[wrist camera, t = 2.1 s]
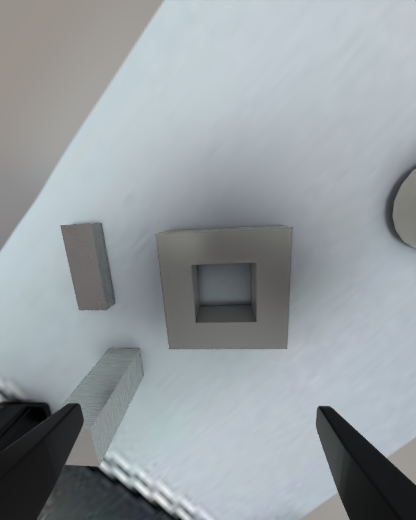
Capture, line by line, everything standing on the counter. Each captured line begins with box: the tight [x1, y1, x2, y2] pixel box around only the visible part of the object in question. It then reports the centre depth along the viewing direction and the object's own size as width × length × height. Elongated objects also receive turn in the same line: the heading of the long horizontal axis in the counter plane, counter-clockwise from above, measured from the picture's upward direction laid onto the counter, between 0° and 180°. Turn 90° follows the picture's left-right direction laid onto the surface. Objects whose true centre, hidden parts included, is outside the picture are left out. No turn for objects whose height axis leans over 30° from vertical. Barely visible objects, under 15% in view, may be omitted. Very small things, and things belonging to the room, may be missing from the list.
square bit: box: [56, 348, 144, 466], centre depth 17 cm, size 3×3×8 cm
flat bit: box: [60, 223, 115, 310], centre depth 18 cm, size 8×3×2 cm, turn 3°
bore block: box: [156, 225, 292, 349], centre depth 17 cm, size 10×10×3 cm
